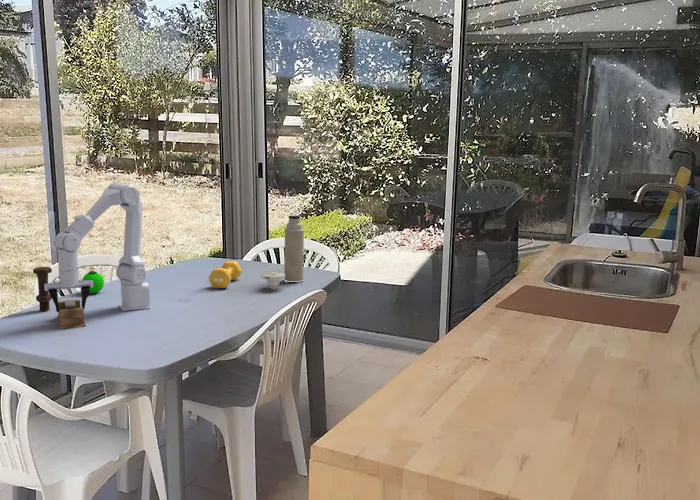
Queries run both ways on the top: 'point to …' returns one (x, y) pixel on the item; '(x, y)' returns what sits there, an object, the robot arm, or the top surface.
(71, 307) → the grey concrete block
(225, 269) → the dumbbell
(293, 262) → the thermos bottle
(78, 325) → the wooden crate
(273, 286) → the showerhead
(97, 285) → the ornament
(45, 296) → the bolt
